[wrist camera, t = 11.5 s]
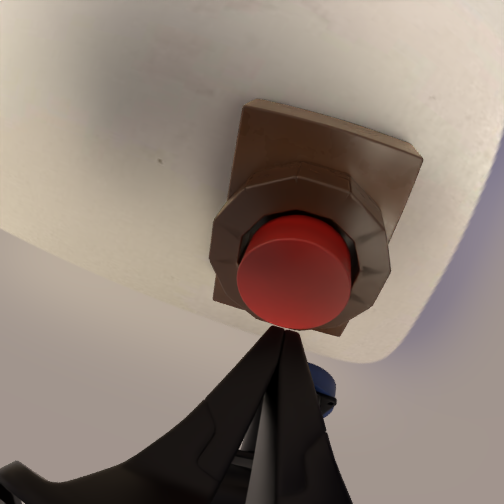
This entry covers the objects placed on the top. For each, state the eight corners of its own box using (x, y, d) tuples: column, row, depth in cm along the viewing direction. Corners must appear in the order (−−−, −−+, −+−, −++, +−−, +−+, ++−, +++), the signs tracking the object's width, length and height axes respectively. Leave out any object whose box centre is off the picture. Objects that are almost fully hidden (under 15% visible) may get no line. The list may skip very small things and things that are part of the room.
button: (331, 310, 13) (328, 340, 12) (240, 284, 14) (229, 312, 12) (366, 232, 11) (369, 260, 10) (258, 201, 11) (246, 224, 10)
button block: (341, 309, 18) (338, 364, 15) (224, 275, 19) (200, 324, 15) (412, 144, 12) (437, 175, 9) (255, 97, 13) (227, 112, 10)
